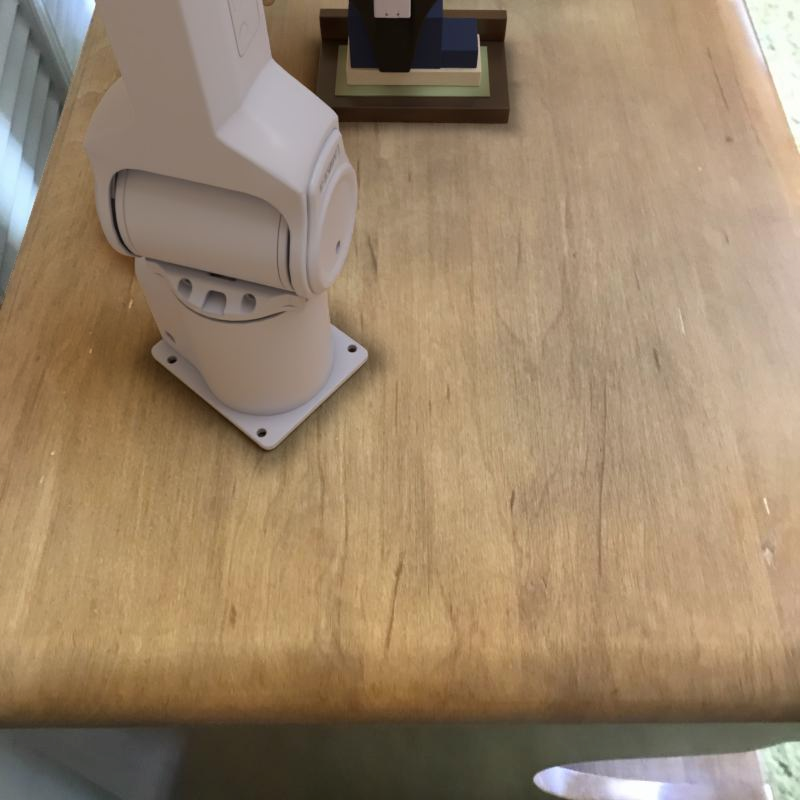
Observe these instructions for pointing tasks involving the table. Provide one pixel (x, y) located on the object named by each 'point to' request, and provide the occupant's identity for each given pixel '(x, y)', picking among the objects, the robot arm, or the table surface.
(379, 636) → the table surface
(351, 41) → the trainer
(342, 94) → the brown tray with backboard
